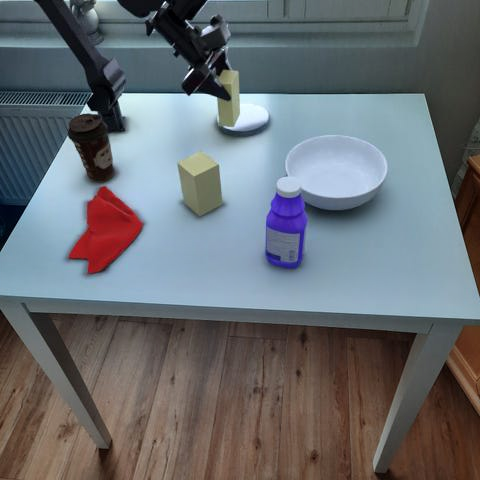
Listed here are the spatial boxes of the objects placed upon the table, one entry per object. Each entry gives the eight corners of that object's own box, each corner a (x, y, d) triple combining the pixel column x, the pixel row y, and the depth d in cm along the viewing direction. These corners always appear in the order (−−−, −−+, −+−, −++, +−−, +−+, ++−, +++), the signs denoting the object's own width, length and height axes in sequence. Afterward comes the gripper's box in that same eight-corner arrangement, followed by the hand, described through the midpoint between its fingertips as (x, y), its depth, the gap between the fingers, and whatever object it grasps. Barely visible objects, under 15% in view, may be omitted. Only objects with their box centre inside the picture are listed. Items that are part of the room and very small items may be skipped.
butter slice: (219, 125, 109) (215, 82, 101) (226, 112, 113) (223, 69, 105) (233, 127, 108) (231, 84, 100) (240, 113, 112) (238, 70, 104)
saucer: (214, 111, 123) (214, 106, 122) (264, 106, 123) (264, 100, 122) (220, 139, 115) (220, 133, 114) (272, 133, 116) (273, 127, 114)
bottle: (306, 252, 91) (314, 176, 77) (299, 273, 87) (305, 198, 74) (270, 245, 92) (271, 169, 78) (262, 265, 89) (261, 190, 75)
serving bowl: (263, 195, 101) (263, 168, 96) (322, 151, 110) (325, 124, 105) (343, 238, 92) (348, 211, 87) (400, 187, 101) (408, 159, 96)
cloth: (130, 274, 89) (127, 266, 87) (60, 273, 90) (55, 265, 88) (153, 187, 105) (151, 179, 103) (93, 187, 106) (90, 179, 104)
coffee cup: (125, 164, 111) (110, 111, 100) (116, 186, 106) (100, 133, 95) (89, 163, 111) (71, 110, 101) (78, 185, 106) (58, 132, 96)
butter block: (183, 202, 101) (176, 162, 93) (206, 191, 103) (201, 150, 95) (199, 216, 98) (193, 176, 90) (222, 204, 100) (219, 164, 92)
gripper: (188, 26, 87) (247, 90, 94) (217, -12, 98) (268, 48, 105) (156, 66, 95) (213, 123, 102) (186, 27, 106) (236, 81, 112)
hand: (234, 92), depth 105 cm, fingers closed on butter slice, 6 cm apart
